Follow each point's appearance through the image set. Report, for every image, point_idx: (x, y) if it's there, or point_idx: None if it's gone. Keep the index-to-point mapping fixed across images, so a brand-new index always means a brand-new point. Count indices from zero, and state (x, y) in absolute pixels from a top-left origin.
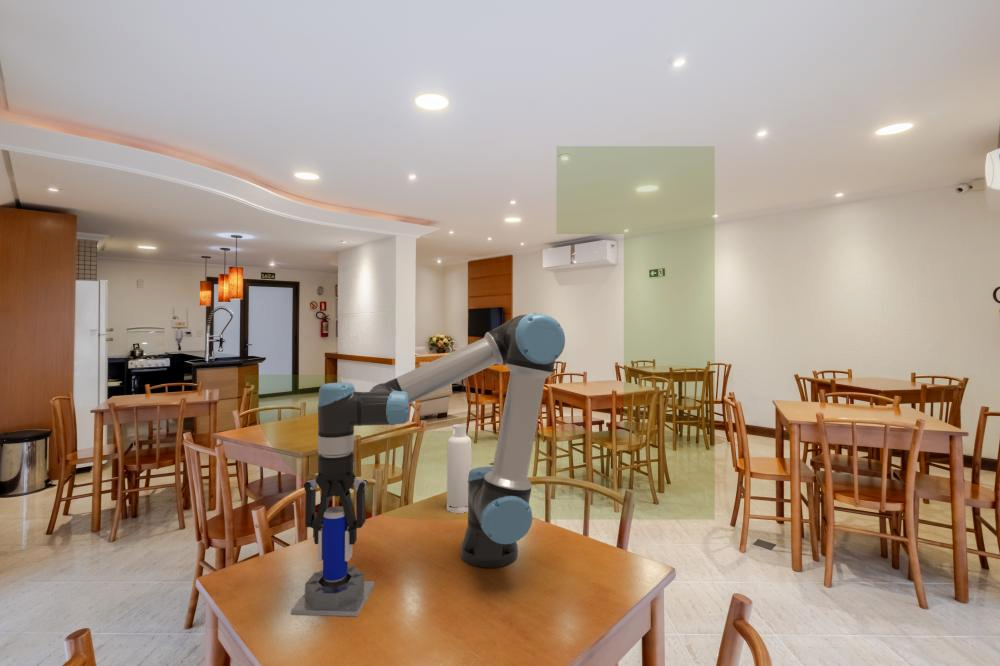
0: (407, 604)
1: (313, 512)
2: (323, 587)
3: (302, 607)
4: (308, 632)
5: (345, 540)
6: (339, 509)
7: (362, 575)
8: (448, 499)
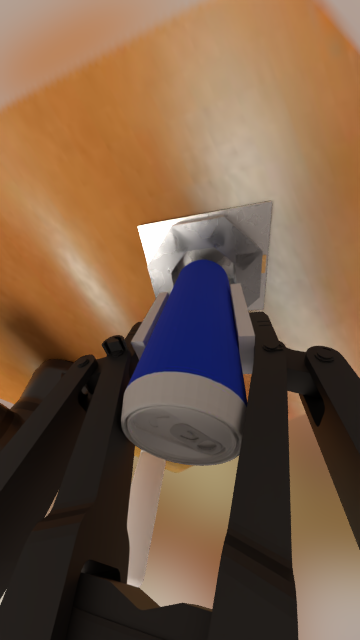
0: (89, 274)
1: (324, 430)
2: (212, 245)
3: (250, 216)
4: (202, 142)
5: (150, 321)
6: (167, 441)
7: None
8: (159, 463)
